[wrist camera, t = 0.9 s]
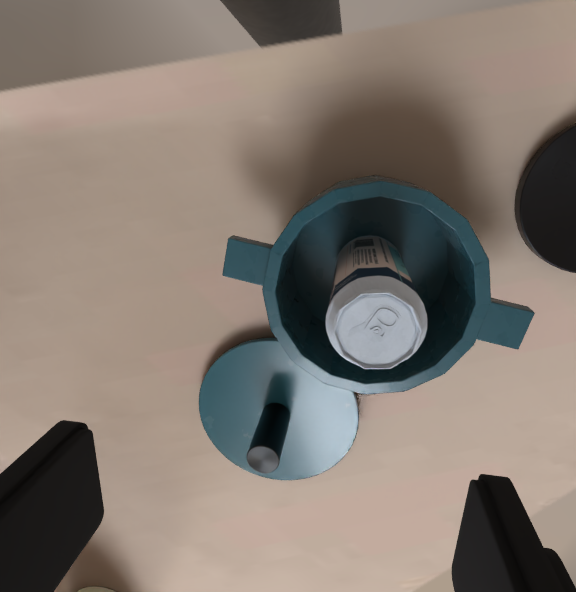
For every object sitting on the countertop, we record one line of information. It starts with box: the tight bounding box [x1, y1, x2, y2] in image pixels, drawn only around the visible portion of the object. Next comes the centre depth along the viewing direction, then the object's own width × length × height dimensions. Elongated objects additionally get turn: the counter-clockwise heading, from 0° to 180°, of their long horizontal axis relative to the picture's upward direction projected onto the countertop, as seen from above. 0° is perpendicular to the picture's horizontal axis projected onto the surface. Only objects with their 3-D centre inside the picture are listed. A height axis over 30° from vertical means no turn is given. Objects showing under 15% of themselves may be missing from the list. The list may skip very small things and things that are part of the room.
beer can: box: [326, 235, 427, 369], centre depth 24 cm, size 5×5×12 cm
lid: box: [199, 338, 359, 480], centre depth 32 cm, size 14×14×7 cm
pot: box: [223, 175, 534, 394], centre depth 27 cm, size 13×18×8 cm
